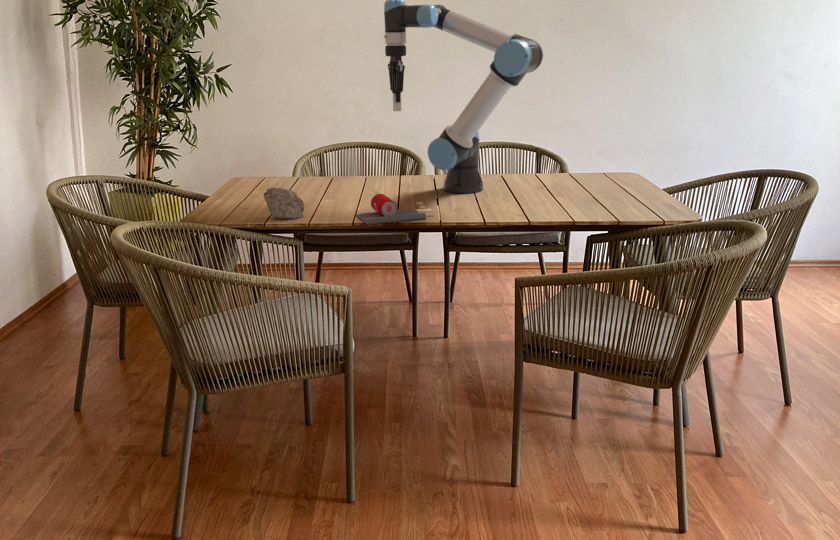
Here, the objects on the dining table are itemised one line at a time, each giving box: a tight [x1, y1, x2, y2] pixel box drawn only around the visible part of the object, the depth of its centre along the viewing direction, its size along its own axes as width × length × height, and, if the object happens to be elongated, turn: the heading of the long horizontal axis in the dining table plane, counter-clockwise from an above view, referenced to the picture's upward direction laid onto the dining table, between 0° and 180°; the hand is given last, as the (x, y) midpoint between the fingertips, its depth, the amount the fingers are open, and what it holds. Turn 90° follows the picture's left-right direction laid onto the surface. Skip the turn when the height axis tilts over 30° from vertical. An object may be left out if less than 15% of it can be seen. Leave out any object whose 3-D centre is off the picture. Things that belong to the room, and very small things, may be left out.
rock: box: [263, 187, 305, 219], centre depth 268 cm, size 14×10×8 cm
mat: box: [355, 208, 427, 226], centre depth 266 cm, size 20×14×2 cm
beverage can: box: [370, 193, 398, 217], centre depth 267 cm, size 6×6×12 cm
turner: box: [415, 201, 435, 218], centre depth 274 cm, size 17×5×1 cm, turn 9°
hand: (397, 110), depth 295 cm, fingers closed
